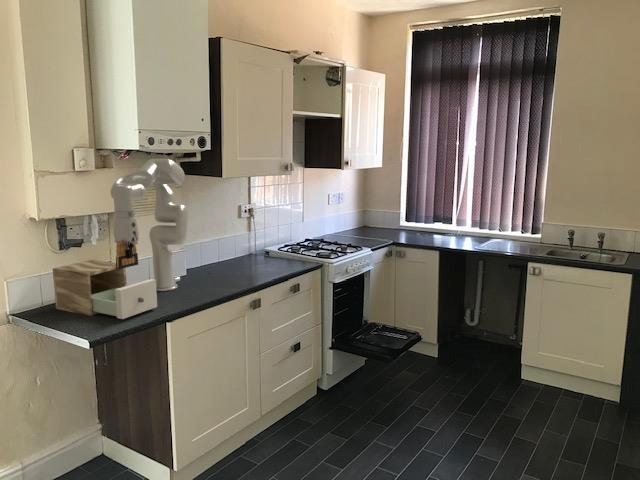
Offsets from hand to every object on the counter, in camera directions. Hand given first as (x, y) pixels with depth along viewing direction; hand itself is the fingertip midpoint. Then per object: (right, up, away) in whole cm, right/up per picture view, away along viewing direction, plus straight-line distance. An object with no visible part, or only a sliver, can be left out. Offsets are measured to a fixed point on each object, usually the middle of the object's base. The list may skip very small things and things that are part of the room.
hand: (126, 257), depth 228 cm
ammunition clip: (0, -4, +1) cm, 4 cm away
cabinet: (-19, -22, +11) cm, 31 cm away
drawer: (-3, -22, +2) cm, 22 cm away
